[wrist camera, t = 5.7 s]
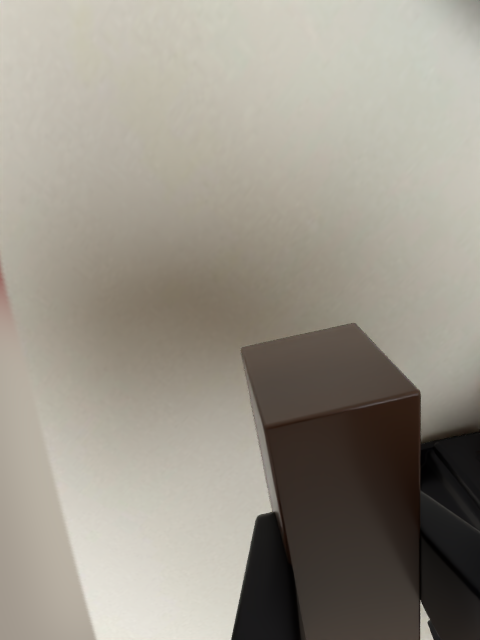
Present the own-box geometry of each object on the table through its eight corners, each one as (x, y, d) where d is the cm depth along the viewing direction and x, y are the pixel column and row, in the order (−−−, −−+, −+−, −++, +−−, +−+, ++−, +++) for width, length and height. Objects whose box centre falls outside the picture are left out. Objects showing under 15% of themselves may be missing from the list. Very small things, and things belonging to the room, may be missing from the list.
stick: (371, 569, 11) (421, 679, 9) (287, 590, 11) (315, 707, 8) (355, 321, 8) (422, 391, 6) (239, 346, 8) (263, 427, 6)
